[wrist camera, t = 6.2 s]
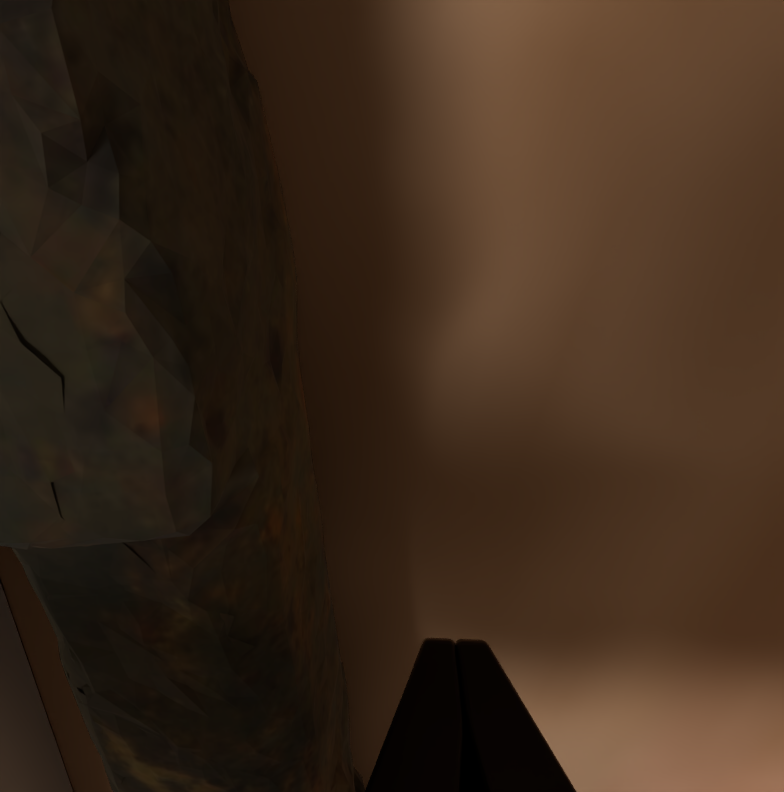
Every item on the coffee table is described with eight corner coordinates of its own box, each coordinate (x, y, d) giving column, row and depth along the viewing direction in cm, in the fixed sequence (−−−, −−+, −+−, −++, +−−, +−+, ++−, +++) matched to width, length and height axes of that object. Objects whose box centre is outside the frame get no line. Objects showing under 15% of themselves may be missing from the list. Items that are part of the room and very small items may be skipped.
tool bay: (728, -729, 5) (1024, -1404, 2) (447, 938, 17) (453, 1079, 14) (-626, -791, 4) (-1582, -1535, 2) (78, 924, 16) (29, 1063, 14)
